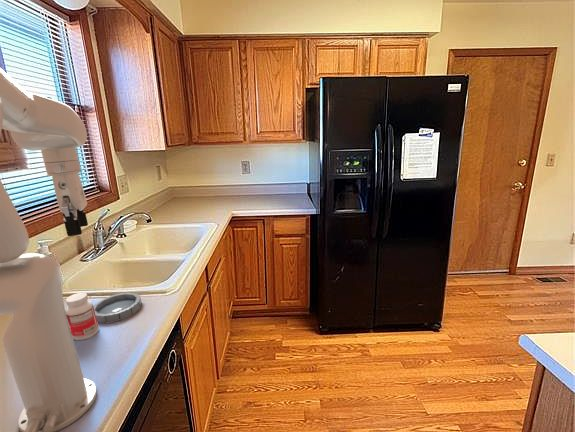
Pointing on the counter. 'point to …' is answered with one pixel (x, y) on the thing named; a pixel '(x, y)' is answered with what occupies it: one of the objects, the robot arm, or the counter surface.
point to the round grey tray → (117, 307)
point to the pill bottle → (81, 316)
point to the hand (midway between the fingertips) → (78, 230)
